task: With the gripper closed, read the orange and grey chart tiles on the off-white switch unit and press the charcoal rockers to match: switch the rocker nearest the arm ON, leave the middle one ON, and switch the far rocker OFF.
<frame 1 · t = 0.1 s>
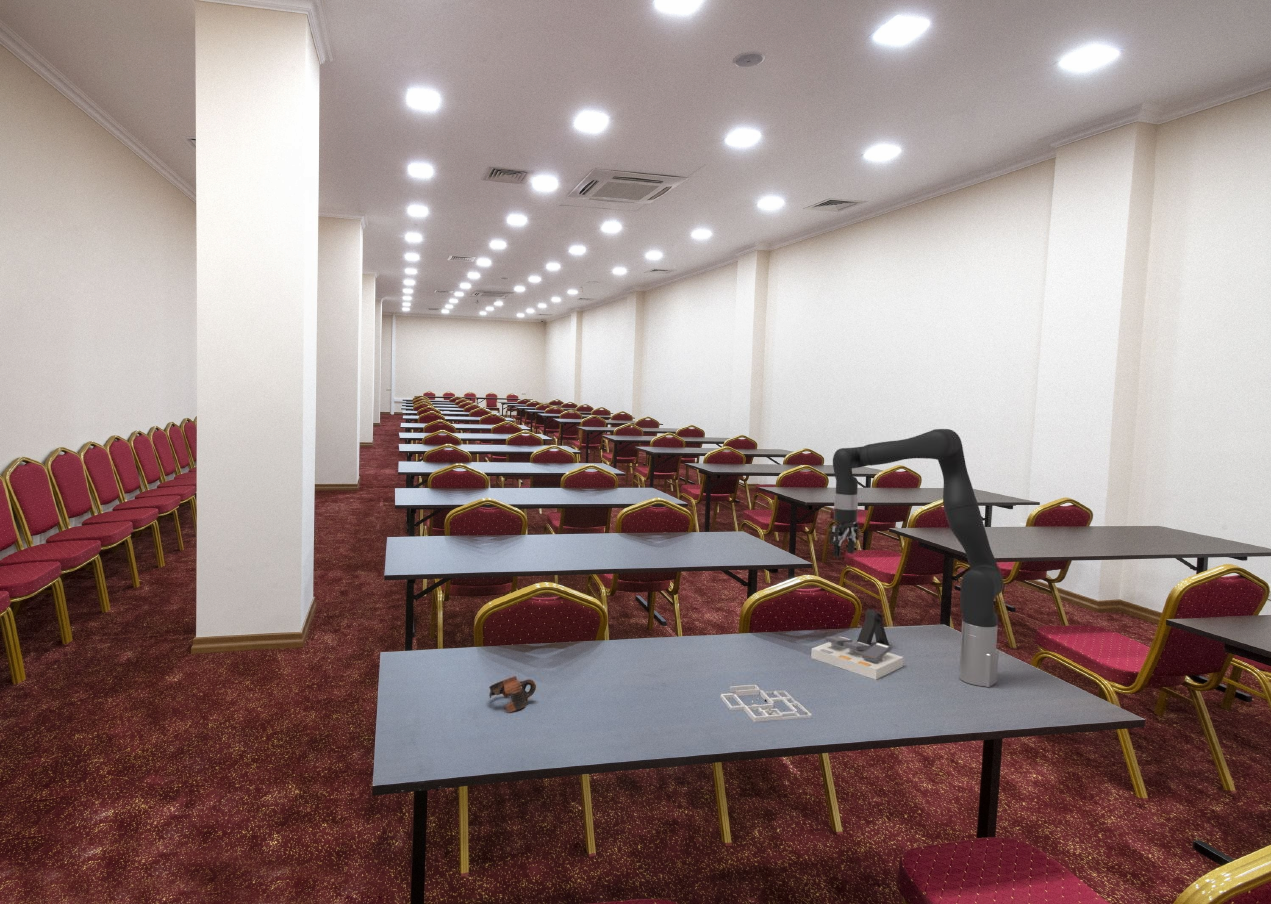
hand: (843, 554, 233), 29 cm above the table, fingers open, 8 cm apart
rocker b: (857, 645, 214), point 5 cm above the table, hinge at 11.0°
rocker a: (876, 651, 209), point 5 cm above the table, hinge at -11.0°
switch unit: (856, 662, 214), on the table
phone stand: (872, 647, 229), on the table
floor plan model: (751, 708, 182), on the table
pottery mug: (512, 705, 180), on the table
rocker c: (838, 640, 219), point 5 cm above the table, hinge at 11.0°
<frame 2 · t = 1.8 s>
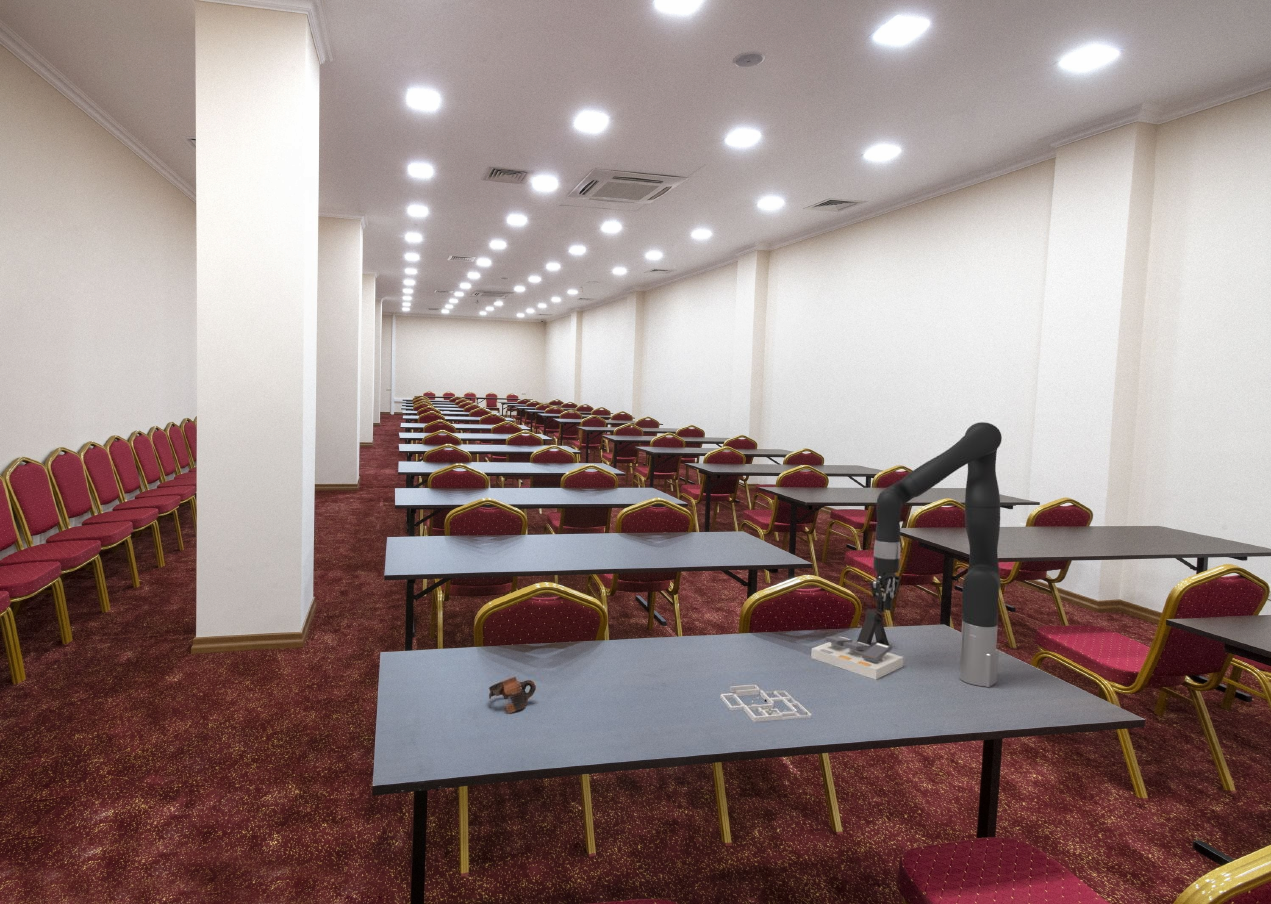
hand: (884, 610, 211), 17 cm above the table, fingers open, 3 cm apart
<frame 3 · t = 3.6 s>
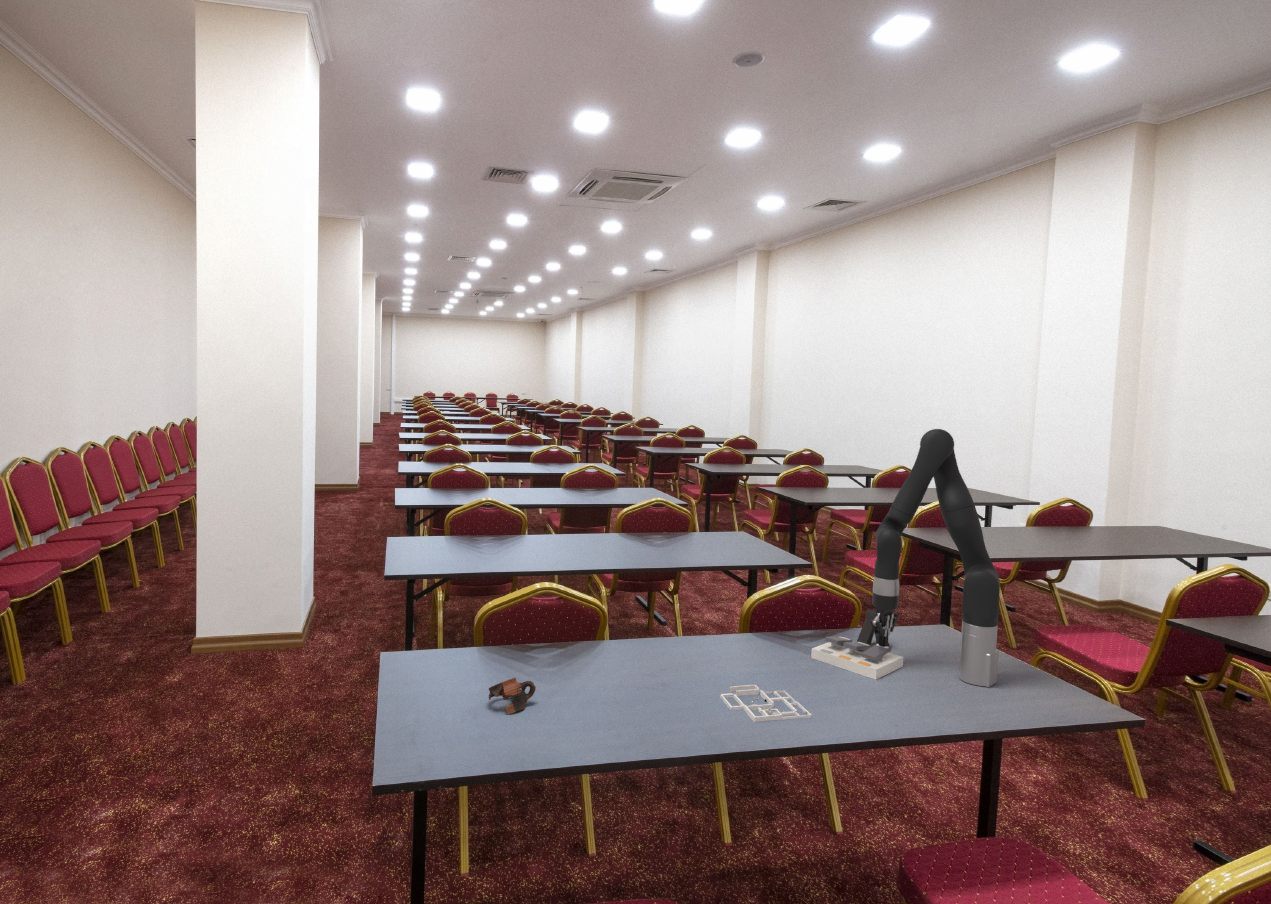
hand: (883, 646, 212), 6 cm above the table, fingers closed
rocker a: (876, 651, 209), point 5 cm above the table, hinge at -7.1°, touching gripper
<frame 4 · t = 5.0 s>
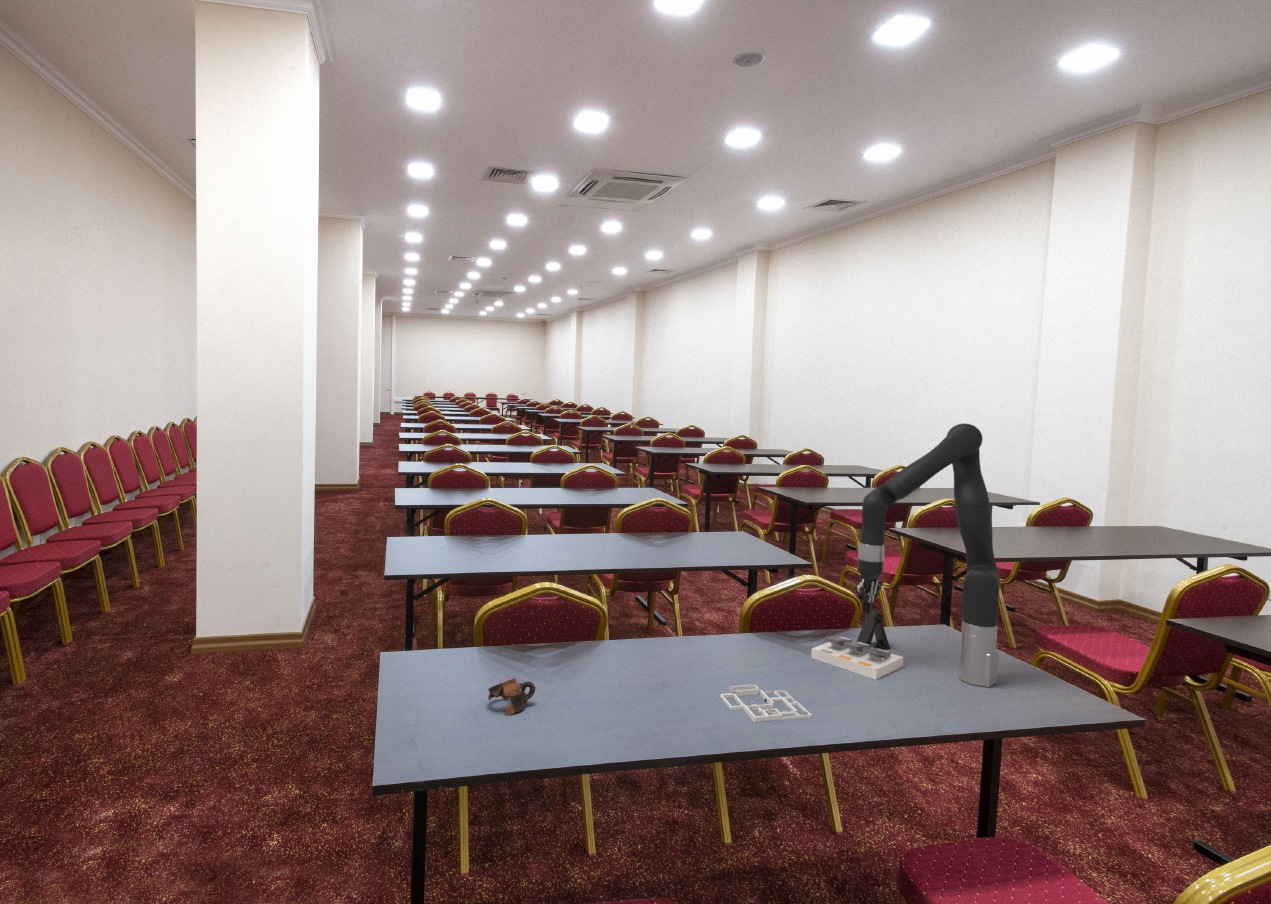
hand: (867, 613, 213), 16 cm above the table, fingers closed
rocker a: (876, 651, 209), point 5 cm above the table, hinge at 15.6°
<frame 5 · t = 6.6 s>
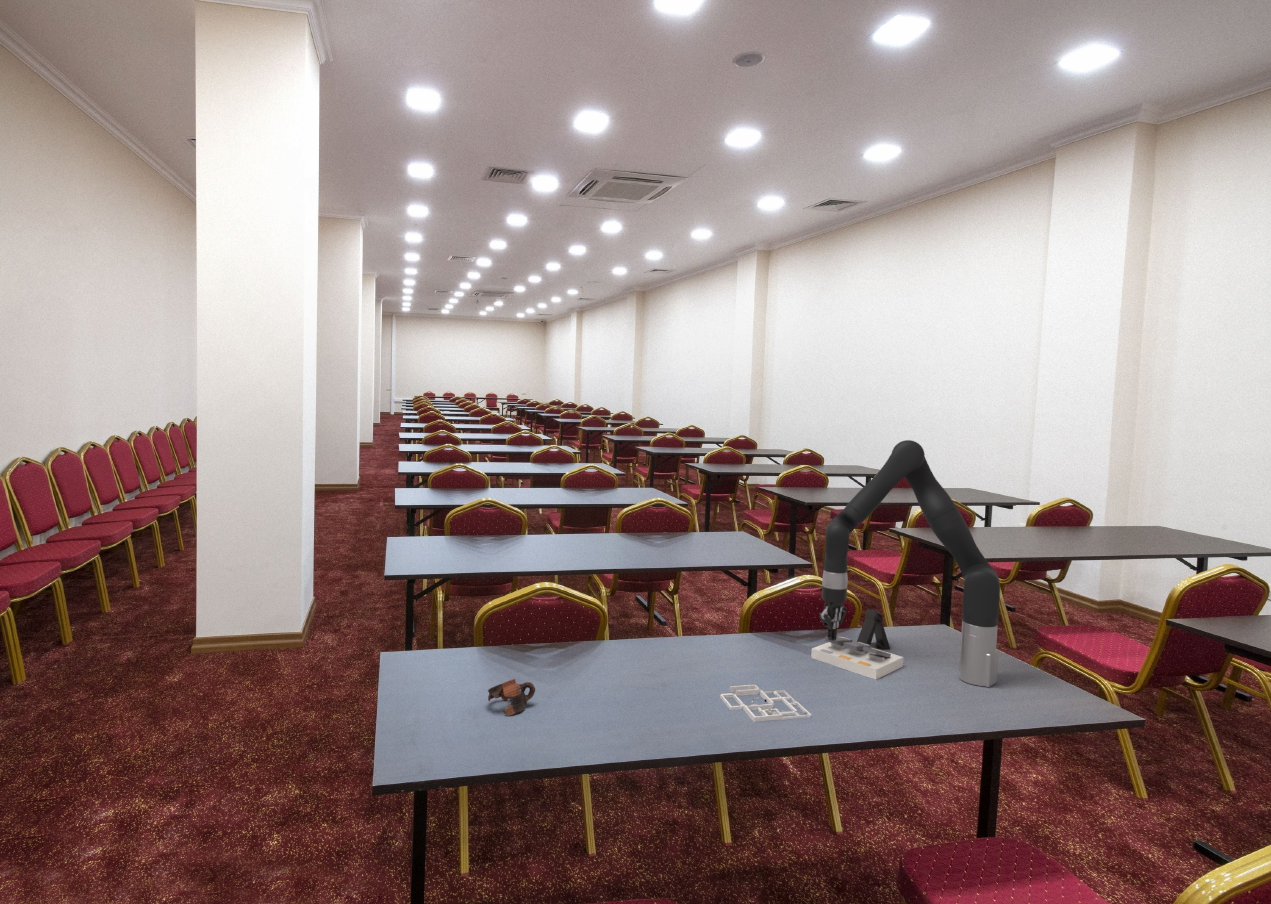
hand: (832, 639, 216), 6 cm above the table, fingers closed
rocker a: (876, 651, 209), point 5 cm above the table, hinge at 20.2°, touching switch unit
rocker c: (838, 640, 219), point 5 cm above the table, hinge at 10.7°, touching gripper
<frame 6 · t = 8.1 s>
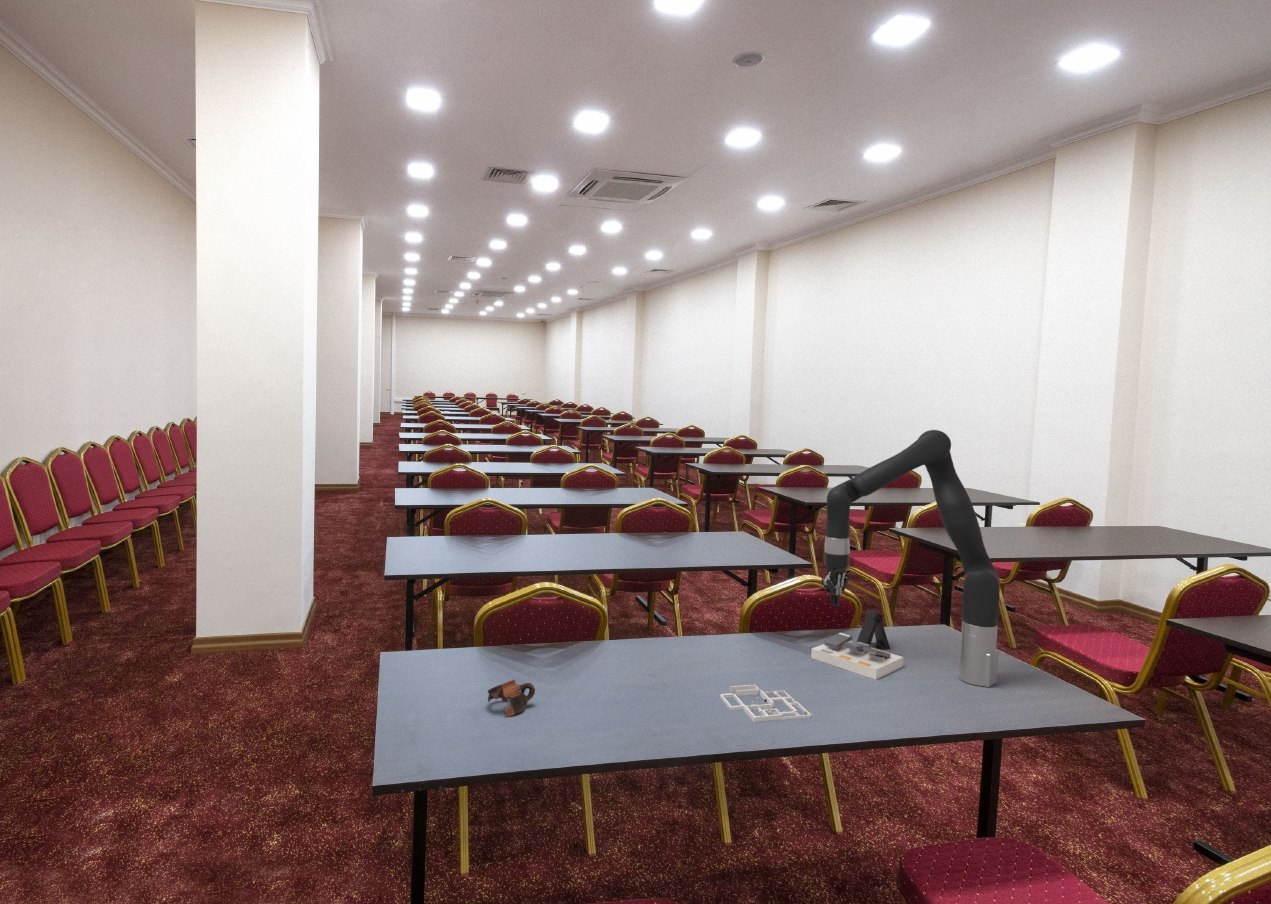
hand: (834, 605, 216), 17 cm above the table, fingers closed
rocker c: (838, 640, 219), point 5 cm above the table, hinge at -7.5°
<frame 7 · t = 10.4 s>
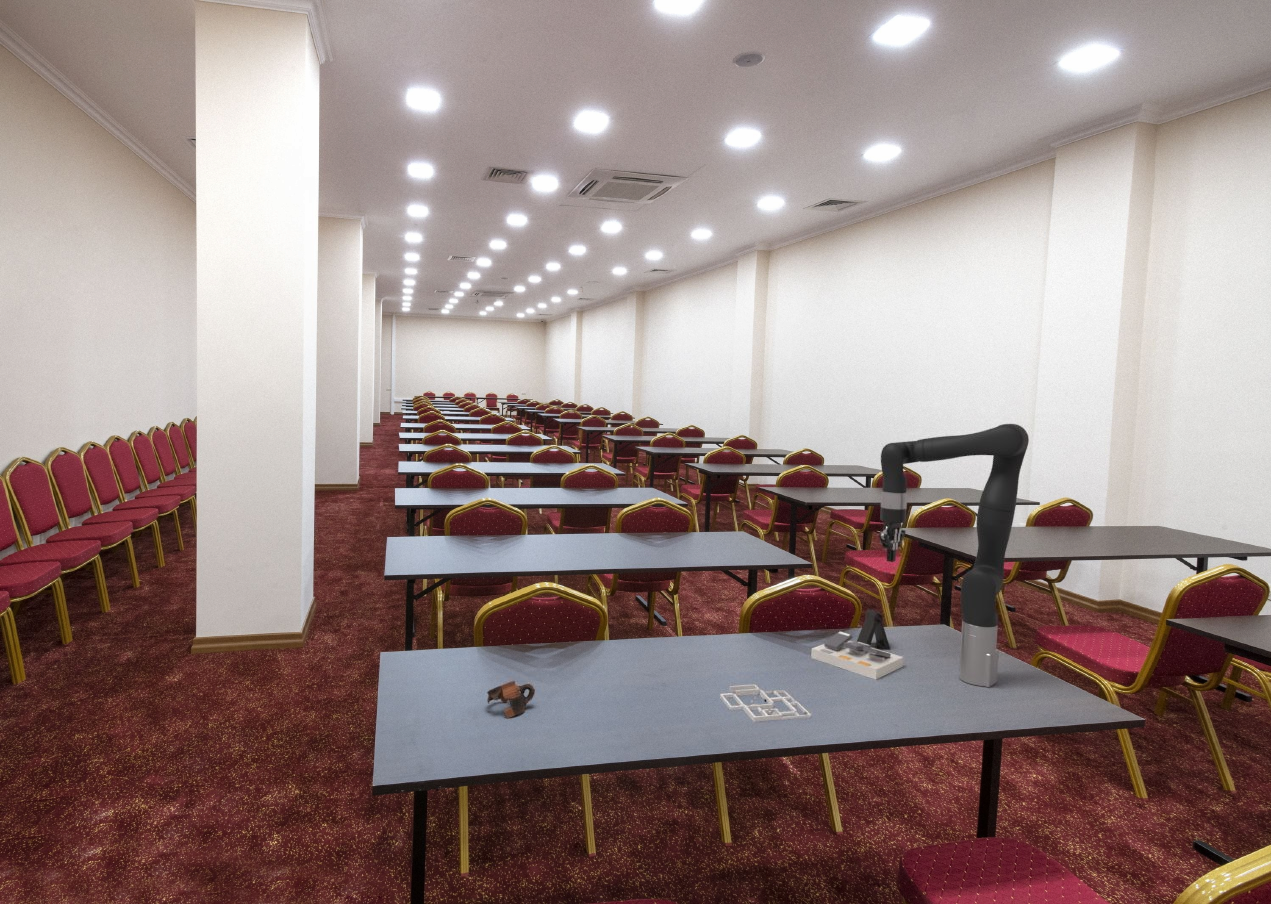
hand: (890, 561, 217), 31 cm above the table, fingers closed
rocker c: (838, 640, 219), point 5 cm above the table, hinge at -13.6°
at the end: rocker a at +20° (first picture: -11°); rocker b at +11° (first picture: +11°); rocker c at -14° (first picture: +11°) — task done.
